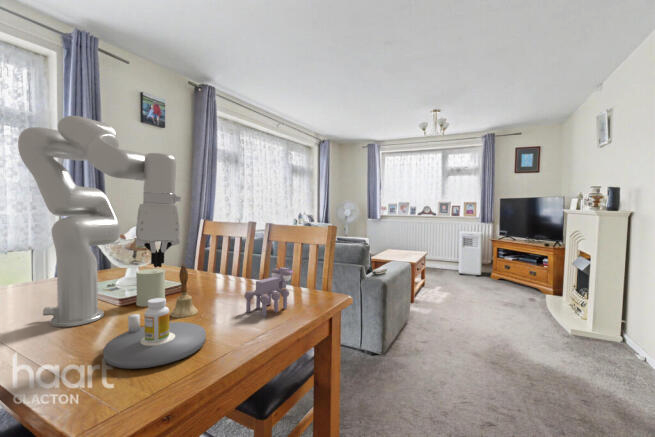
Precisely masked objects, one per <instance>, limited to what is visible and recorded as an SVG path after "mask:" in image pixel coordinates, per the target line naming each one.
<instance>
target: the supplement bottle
mask: <svg viewBox="0 0 655 437" xmlns="http://www.w3.org/2000/svg"><path fill="white" fill-rule="evenodd" d="M166 305H167V299H166V297H165V298H155V299H151V300H149V301H148V306H147V309H146V310H145V311H144V326H145V341H146V342H149V343H155V342H160V341H163V340H165V339H167V338H168V337H169V322H170V308H169V307H167V306H166Z"/></svg>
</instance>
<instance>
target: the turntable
mask: <svg viewBox="0 0 655 437" xmlns="http://www.w3.org/2000/svg"><path fill="white" fill-rule="evenodd" d="M127 321H128V322H127V323H128V325H127V326H128V327H127V328H128V331H125V332H124V333H121V334H119V335H117V336H115V337H113V338H112V339H110V340H109V341H108V342H107V343H106V344H105V346H104V348H103V360H104V361H105V363H106V364H108V365H109V366H112V367H113V368H115V367H116V368H119V369H133V370H134V369H144V368H145V369H146V368H151V367H154V368H155V367H157V366H162V365H163V366H164V365H167V364H171V363H173V362H177V361H179V360H182V359H184V358H186V357H188V356H191V355H192V354H194V353H196V352H197V351H198V350H200V349H201V348H202V347H203V346H204V345H205V343H206V341H207V340H206V339H207V338H206V337H207V336H206V335H207V334H206V333H207V332H206V330H205V328H204V327H203V326H201V325H199V324H196V323H193V322H183V321H182V322H181V321H172V322H171V321H169V337H168V338H167V339H165V340H163V341H160V342H155V343H149V342H146V341H145V325H144V326H141V314H139V313H135V314H134V313H133V314H130V315H128V316H127Z"/></svg>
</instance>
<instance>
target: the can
mask: <svg viewBox="0 0 655 437" xmlns="http://www.w3.org/2000/svg"><path fill="white" fill-rule="evenodd" d="M165 287H166V269H164V268H148V269H147V268H146V269H145V268H144V269H140V270H138V271H136V301H135V302H136V303H135V305H136V306H137V307H142V308H144V307H147V308H148V301H149V300H151V299H155V298H165V299H166V288H165Z"/></svg>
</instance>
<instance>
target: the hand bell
mask: <svg viewBox="0 0 655 437" xmlns="http://www.w3.org/2000/svg"><path fill="white" fill-rule="evenodd" d="M178 277H179V281H180V285H181V287H180V288H181V290H180V291H181V295H180V296H178V297H177V298H176V304H175V306H174V309H173V310H172V311H171V312H170V313H169V317H172V318H174V319H176V318H177V319H183V318H189V317H190V318H191V317H192V316H195V315H197V314H198V312H199V310H198V309H197V308H196V307H195V306H194V304H193V299H192V298H193V297H192V295H189V294H188V287H187V284H188V280H189V271H188V268H187V266H186V265H185V264H184V265H183V264H182V265H181V267H180V270H179V276H178Z"/></svg>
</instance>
